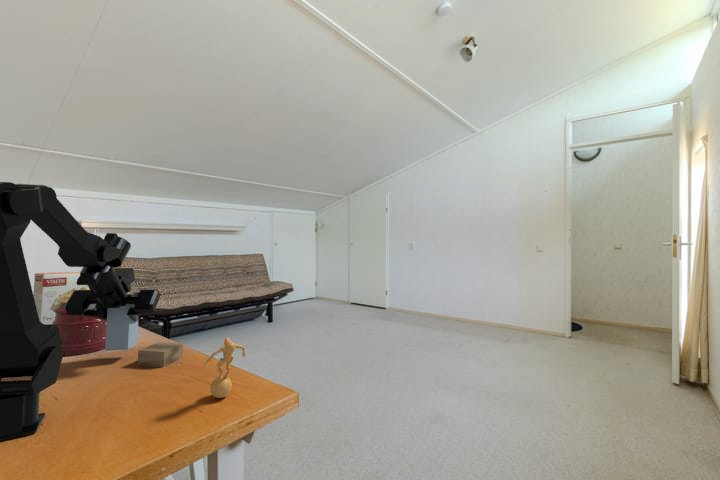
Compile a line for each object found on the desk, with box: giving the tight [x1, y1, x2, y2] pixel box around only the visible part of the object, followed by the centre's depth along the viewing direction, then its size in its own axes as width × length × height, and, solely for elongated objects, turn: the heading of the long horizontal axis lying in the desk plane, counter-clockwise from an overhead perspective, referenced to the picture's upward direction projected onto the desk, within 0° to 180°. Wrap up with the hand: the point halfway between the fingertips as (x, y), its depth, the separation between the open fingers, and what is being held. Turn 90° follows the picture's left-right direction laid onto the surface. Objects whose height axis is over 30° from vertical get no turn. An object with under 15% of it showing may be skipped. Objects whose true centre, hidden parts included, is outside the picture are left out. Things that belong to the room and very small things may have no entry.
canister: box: [52, 287, 107, 356], centre depth 91 cm, size 13×13×18 cm
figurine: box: [203, 337, 246, 399], centre depth 63 cm, size 8×6×12 cm
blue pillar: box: [104, 304, 139, 351], centre depth 83 cm, size 5×5×12 cm
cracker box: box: [32, 271, 88, 324], centre depth 100 cm, size 14×6×21 cm, turn 155°
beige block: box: [137, 341, 184, 368], centre depth 82 cm, size 7×7×4 cm
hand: (125, 320), depth 85 cm, fingers closed on blue pillar, 5 cm apart
